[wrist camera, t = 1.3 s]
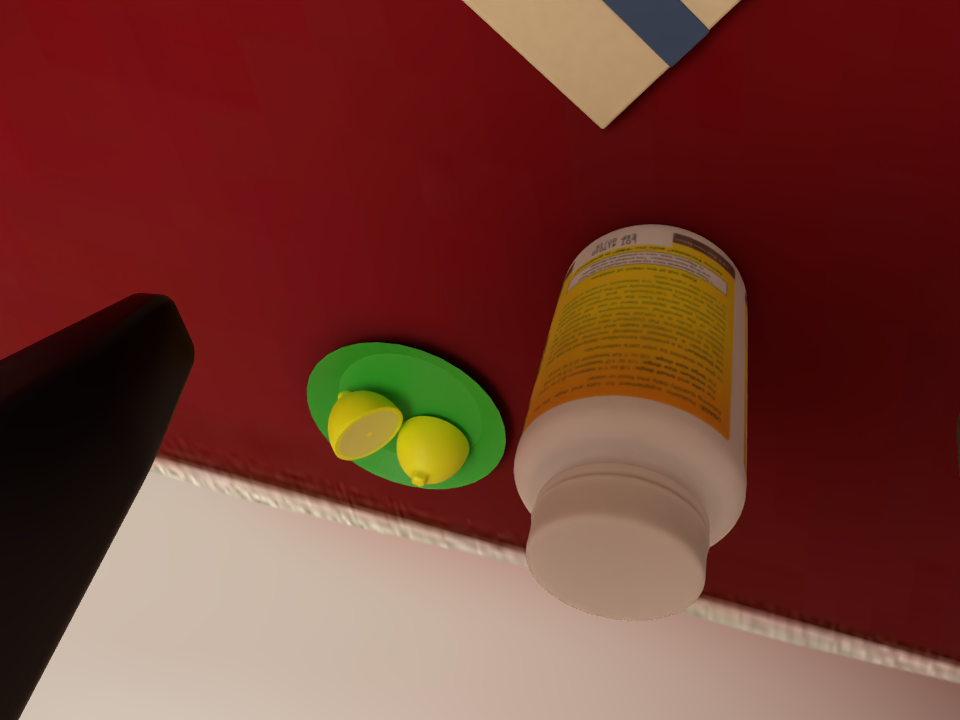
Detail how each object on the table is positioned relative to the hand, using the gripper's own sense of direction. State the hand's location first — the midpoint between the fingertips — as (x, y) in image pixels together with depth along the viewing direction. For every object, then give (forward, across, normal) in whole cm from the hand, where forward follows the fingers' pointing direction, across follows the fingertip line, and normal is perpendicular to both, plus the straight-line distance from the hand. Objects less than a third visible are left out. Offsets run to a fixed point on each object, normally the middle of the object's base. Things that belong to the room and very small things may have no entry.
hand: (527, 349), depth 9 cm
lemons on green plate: (+14, +9, +16) cm, 23 cm away
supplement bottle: (+14, 0, +10) cm, 17 cm away
